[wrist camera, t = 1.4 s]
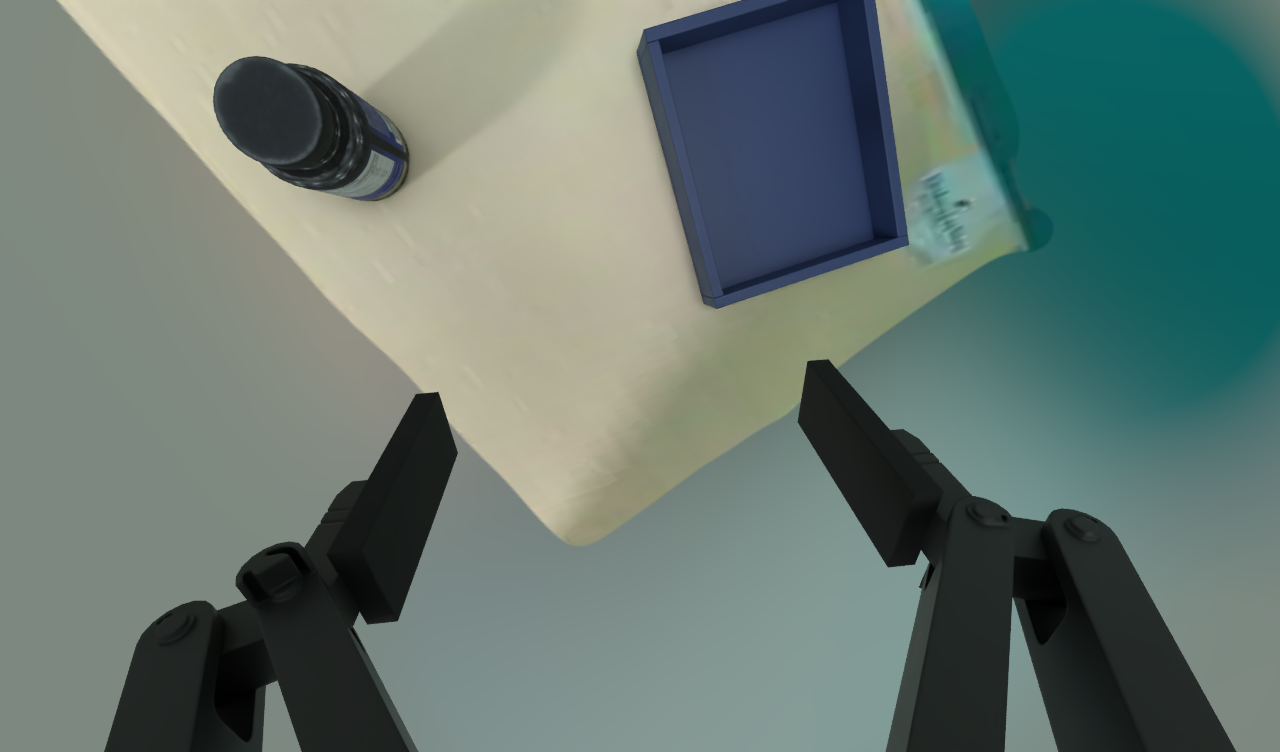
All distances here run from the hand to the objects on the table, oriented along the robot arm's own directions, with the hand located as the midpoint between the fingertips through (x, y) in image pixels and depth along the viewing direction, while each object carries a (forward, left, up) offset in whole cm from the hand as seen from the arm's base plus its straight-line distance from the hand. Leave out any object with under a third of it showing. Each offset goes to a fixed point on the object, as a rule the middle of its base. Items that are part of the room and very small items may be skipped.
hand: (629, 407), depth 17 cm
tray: (-8, +16, -22) cm, 28 cm away
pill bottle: (-16, -12, -22) cm, 29 cm away
